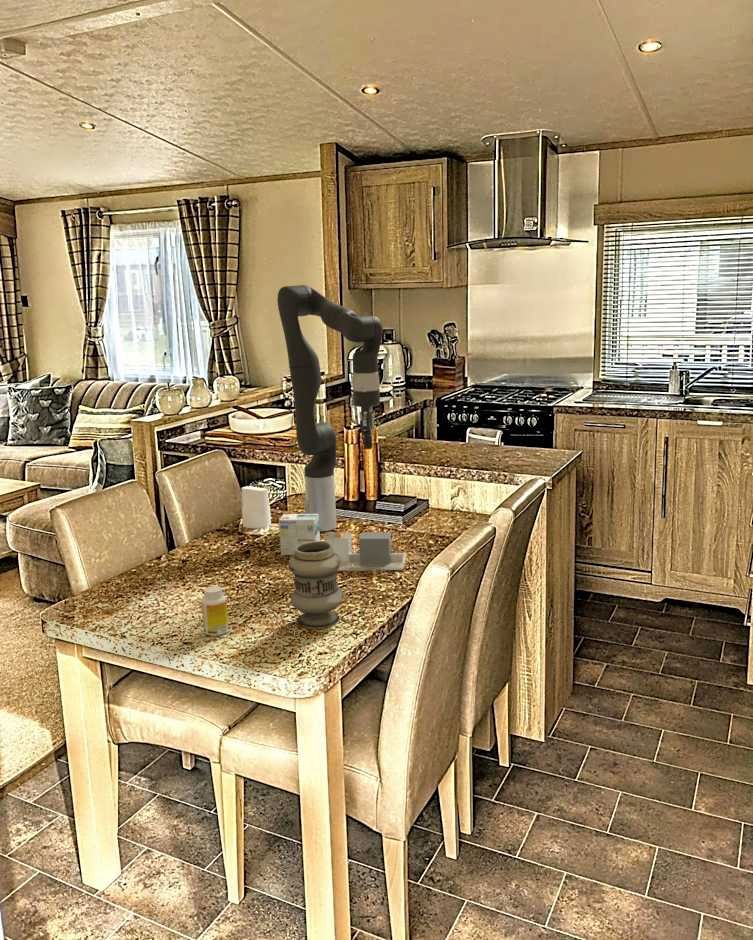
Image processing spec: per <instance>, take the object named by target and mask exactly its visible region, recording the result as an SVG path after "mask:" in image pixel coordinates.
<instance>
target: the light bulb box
mask: <svg viewBox="0 0 753 940" xmlns="http://www.w3.org/2000/svg"><path fill="white" fill-rule="evenodd" d="M278 529H279V542H280V543H279V545H280V556H293V555H294V553H295V548H296V546H298V545H300V544H302V543H306V542H313V541H321V539H320V538H321V535H320V531H319V517H318V514H305V513H288V514H287V513H283V514H282V515H281V517H280V518H279V519H278Z"/></svg>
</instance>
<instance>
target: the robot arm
mask: <svg viewBox="0 0 753 940" xmlns="http://www.w3.org/2000/svg"><path fill="white" fill-rule="evenodd" d="M276 300H277V301H276V302H277V307H278V312H279V318H280V322H281V326H282V330H283V335H284V340H285V345H286V351H287V357H288V358H287V359H288V369H289V373H290V380H291V381H290V382H291V386H292V387H291V388H292V394H293V401H294V411H295V412H294V413H295V431H296V432H295V433H296V442H297V446H298V448H299V450H300V451H301V453H302V454H303V455H304V456H308V457H309V456H311V457H312V458H311V459H310V461H309V462H308V463H307V464H306V465H305V466H304V468H303V471H304V473H303V475H304V488H305V489H304V490H305V500H304V501H303V503H304V514H318V517H319V532H329V531H333V530H335V529H336V528H337V511H336V510H337V509H336V489H335V485H336V484H335V468H336V465H337V437H336V433H335V429H334V428H333V426H332V425H331V424H329V423H327V422H317V423H316V418H315V416H316V415H315V406H316V402H317V399H318V395H319V392H320V389H321V385H322V373H321V367H320V365H321V364H320V360H319V356H318V354H317V353H316V351H315V350H314V348H313V347H312V346H311V344H310V343H309V342H308V340H307V339H306V337H305V335H304V334H303V332H302V330H301V326H300V321H299V317H306V316H314V317H315V316H316V317H320V319H321V321H322V323H323V324H324V325H325V326H327V327H328V328H330V329H332V330H334V331H337V332H338V333H340V334H341V335H342V336H343V337H344V338H345V339H346V340H347V341H349V342H352V343H357V344H358V343H363V345H362V347H361V349H359V350H357V351H354V353H353V354H352V401H353V403H352V404H353V406H355V407H361V411H360V412H359V413H358V414H359V416H358V417H359V419H360V420H359V423H360V429H361V435H362V436H363V449H364V450H371V449H373V434H374V433H373V432H374V426H375V416H376V415H375V414H376V410H373V407H376V406H379V405H380V404H381V397H380V396H381V395H380V393H381V392H380V390H381V389H380V377H379V376H380V375H379V363H378V361H379V359H378V358H379V354H380V349H381V343H382V340H383V335H384V334H383V333H384V328H383V325H382V322H381V320H380V318H379V317H378V316H375V315H363V316H358V315H357V314H356V312H355V311H353V310H351V309H349V308H347V307H345V306H342V305H341V304H337V303H335V302H333V301H331V300H329V299H328V298H327V297H325V296H324V295H323V294H321V293H320V292H319V291H317V290H316V289H314V288H313V287H312V286H309V285H306V284H304V285H303V284H299V285H287V286H282V287H280V289H278V292H277V299H276Z"/></svg>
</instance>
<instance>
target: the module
mask: <svg viewBox="0 0 753 940" xmlns="http://www.w3.org/2000/svg"><path fill="white" fill-rule="evenodd" d="M358 543H359V546H358V547H359V553H360V563H361V564H389V563H390V553H392V533H391V532H390V531H388V532H386V531H384V532H381V531H379V532H378V531H376V532H375V531H373V532H371V531H367V532H365V531H362V532H361V534H360V536H359V538H358Z"/></svg>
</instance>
